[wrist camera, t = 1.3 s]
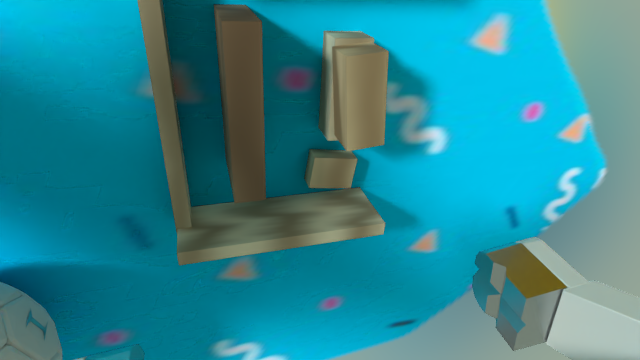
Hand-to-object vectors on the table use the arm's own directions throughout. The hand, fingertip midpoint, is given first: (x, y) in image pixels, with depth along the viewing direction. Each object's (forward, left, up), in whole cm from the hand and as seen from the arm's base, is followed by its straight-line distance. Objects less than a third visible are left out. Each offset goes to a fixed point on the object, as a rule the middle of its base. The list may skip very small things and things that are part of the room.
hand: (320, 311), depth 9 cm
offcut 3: (+9, -2, -22) cm, 23 cm away
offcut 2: (+8, -10, -25) cm, 28 cm away
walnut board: (0, -2, -24) cm, 25 cm away
